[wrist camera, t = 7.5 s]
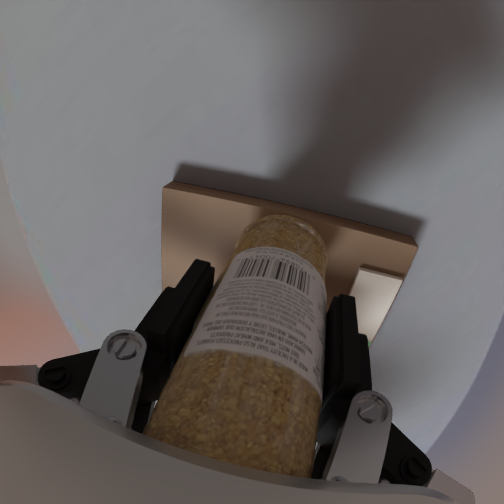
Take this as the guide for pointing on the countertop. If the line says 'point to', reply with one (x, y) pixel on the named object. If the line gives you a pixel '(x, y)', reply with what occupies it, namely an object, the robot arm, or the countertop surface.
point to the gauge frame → (329, 227)
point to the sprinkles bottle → (254, 356)
